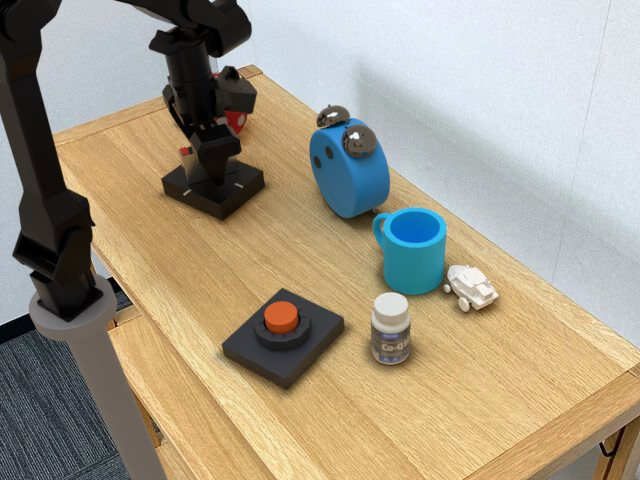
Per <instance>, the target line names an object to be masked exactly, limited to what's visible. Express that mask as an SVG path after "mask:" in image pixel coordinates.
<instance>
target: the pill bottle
mask: <svg viewBox="0 0 640 480" xmlns="http://www.w3.org/2000/svg"><path fill="white" fill-rule="evenodd" d="M411 324H412V316H411V313H410V311H409V301H408V299H407V298H406V297H405V296H404V295H402V293H399V292H394V291H393V292H390V291H389V292H384V293H382V294H380V295H378V296H377V297H376V298H375V300H374V302H373V311H372V313H371V316H370V339H371V340H370V345H371V347H370V349H371V354H372V356H373V358H374V359H375V360H376V361H377V362H379V363H381V364H383V365H389V366H392V365H397V364H401V363H403V362H404V361H406V359H407V358H408V357H409V354H410V350H411V349H410V346H411V326H412V325H411Z"/></svg>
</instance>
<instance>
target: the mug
mask: <svg viewBox="0 0 640 480" xmlns="http://www.w3.org/2000/svg"><path fill="white" fill-rule="evenodd" d="M383 220H384V222H383V227H382V226H381V225H382V221H383ZM371 226H372V232H373V235H374V238H375V241H376V242H377V244H378V245H379V247H380V249H381V250H382V251H383V254H382V255H383V278H384V281H385V283H386V284H387V286H389V287H390V288H391V289H392V290H394V291H396V292H397V293H399V294H406V295H412V296H416V295H417V296H418V295H423V294H428V293H430V292H432V291H434V290H435V289H437V288H438V287H439V286H440V285H441V284H442V282H443V279H444V272H445V258H446V246H447V245H446V244H447V231H448V229H447V228H448V227H447V226H448V225H447V222H446V220H445V219H444V217H443V216H442V215H440V214H439V213H438V212H437V211H434V210H432V209H429V208H425V207H421V206H420V207H419V206H418V207H417V206H415V207H414V206H411V207H405V208H400V209H398V210H396V211H394V212H392V213H390V212H383V213H378V214H377V215H375V217H374V218H373V221H372V225H371ZM382 229H383V231H382Z"/></svg>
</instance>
